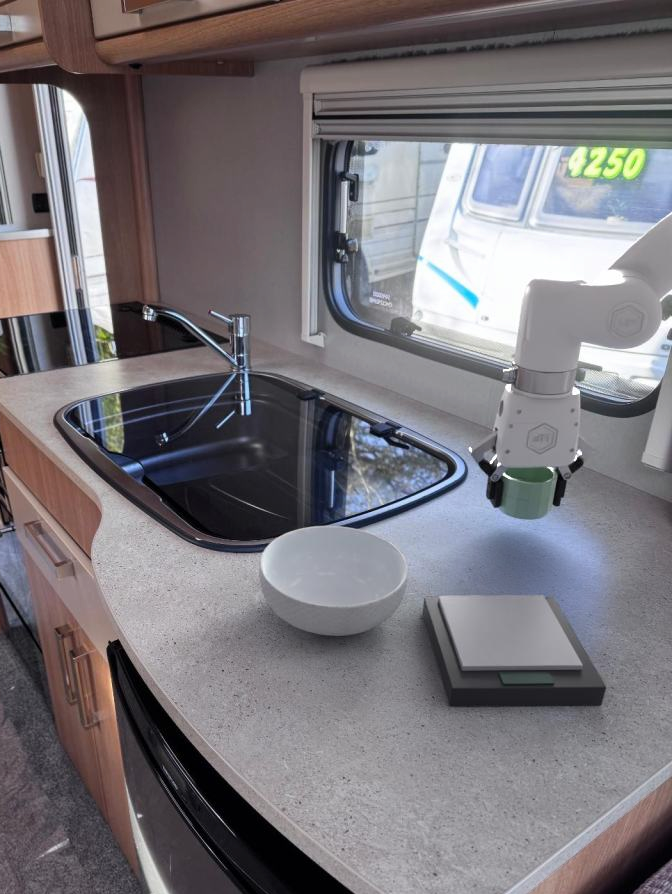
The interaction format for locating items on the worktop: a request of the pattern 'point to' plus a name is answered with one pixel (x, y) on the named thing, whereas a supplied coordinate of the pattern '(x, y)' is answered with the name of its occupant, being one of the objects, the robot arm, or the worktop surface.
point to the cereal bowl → (333, 579)
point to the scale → (509, 652)
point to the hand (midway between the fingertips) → (523, 501)
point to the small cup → (528, 492)
